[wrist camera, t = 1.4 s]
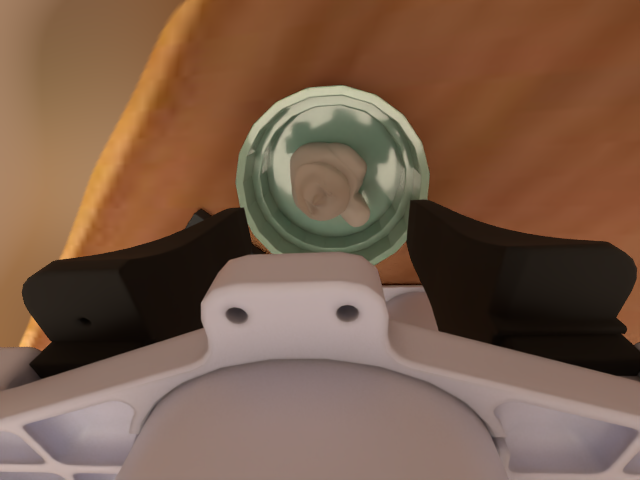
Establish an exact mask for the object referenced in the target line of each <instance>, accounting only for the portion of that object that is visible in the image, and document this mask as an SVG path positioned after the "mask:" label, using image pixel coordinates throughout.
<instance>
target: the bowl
mask: <svg viewBox="0 0 640 480" xmlns="http://www.w3.org/2000/svg"><path fill="white" fill-rule="evenodd" d="M313 142H325V143H342V144H345V145H347V146H349V147H351V148H352V149H353V150H354V151H356V153H357V154H358V155H359V156H360V157H361V158H362V159H363V160H364V161H365V162H366V165H367V170H366V174H365V177H364V179H363V184H362V186H361V187H360V189H359V191H358V192H359V193H360V194H361V195H362V196H363V197H364V199H365V202H366V204H367V206H368V207H369V209H370V217H369V219H368V221H367V222H366V223H365V224H364V225H362V226H360V227H353V226H351V225H349V224H348V223H347V222H346V221H345V220H344V219H343V217H342V216H341V215H338V216H337V217H335V218H333V219H330V220H326V221H318V220H313V219H310V218H309V217H308V216H307V215H306V214H304V213H303V212H302V211H301V210H300V209H299V208H298V207H297V206H296V204H295V202H294V199H293V195H292V185H291V179H290V160H291V156H292V155H293V153H294V152H295V151H296V150H297V149H298V148H299V147H300V146H302V145H304V144H307V143H313ZM429 178H430V172H429V168H428V164H427V160H426V156H425V152H424V147H423V144H422V142H421V140H420V138H419V137H418V135H417V134H416V132H415V131H414V129H413V128H412V126H411V125H410V123H409V122H408V120H407V119H406V117H405V116H404V115H403V114H402V113H401V112H399V111H398V110H397V109H395V108H394V107H392V106H391V105H390V104H388V103H387V102H386V101H384V100H383V99H382V98H380V97H379V96H378V95H376V94H372V93H369V92H366V91H362V90H359V89H355V88H352V87H348V86H345V85H343V86H342V85H334V86H321V87H308V88H305V89H303V90H301V91H299V92H296V93H294V94H292V95H290V96H288V97H286V98H283V99H281V100H279V101H277V102H275V103H274V104H273V105H272V106H271V107H270V108H269V109H268V110H267V111H266V112H265V113H264V114H263V115H262V116H261V117H260V118H259V119H258V120H257V121H256V122H255V123H254V124H253V126H252V128H251V130H250V132H249V134H248V136H247V138H246V140H245V142H244V144H243V146H242V148H241V150H240V153H239V158H238V166H237V174H236V188H237V193H238V198H239V203H240V208H243V207H244V209H245V213H246V218H247V223H248V225H249V227H250V229H251V231H252V232H253V234H254V236H255V237H256V238H257V239H258V240H259V241H260V242H261V243H262V244H263V245H264V246H265V247H266V248H267V249H268V250H269V251H270V252H271V253H272V254H288V253H318V252H344V253H349V254H355V255H360V256H362V257H364V258H365V259H366V260H367V261H369V262H370V263H371V264H372V265H376V264H378V263H379V262H381V261H382V260H384V259H386V258H387V257H389V256H390V255H392V254H394V253H395V252H396V251H397V250H398V249H399V248H400V247H401V246H402V245H403V244H404V243H405V241H406V240H407V229H408V218H409V208H410V200H423V199H425V200H427V198H428V188H429Z"/></svg>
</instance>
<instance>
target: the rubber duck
mask: <svg viewBox="0 0 640 480" xmlns="http://www.w3.org/2000/svg"><path fill="white" fill-rule="evenodd" d="M366 170H367V165H366V162H365V161H364V160H363V159H362V158H361V157H360V156H359V155H358V154H357V153H356V151H354V150H353V149H352V148H351V147H349V146H347V145H345V144H342V143H325V142H313V143H307V144H304V145H302V146H300V147H299V148H298V149H297V150H296V151H295V152H294V153H293V155H292V156H291V160H290V179H291V185H292V195H293V199H294V202H295V204H296V206H297V207H298V208H299V209H300V210H301V211H302V212H303V213H304V214H306V215H307V216H308V217H309V218H310V219H313V220H318V221H326V220H330V219H333V218H335V217H337V216H338V215H341V216H342V217H343V219H344V220H345V221H346V222H347V223H348V224H349V225H351V226H353V227H360V226H362V225H364V224H365V223H366V222H367V221H368V219H369V217H370V209H369V207H368V206H367V204H366V202H365V199H364V197H363V196H362V195H361V194H360V193H359V192H358V191H359V189H360V187H361V186H362V184H363V179H364V177H365V174H366Z"/></svg>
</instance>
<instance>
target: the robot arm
mask: <svg viewBox="0 0 640 480" xmlns="http://www.w3.org/2000/svg"><path fill="white" fill-rule="evenodd" d="M406 243H407V247H408V251H409V254H410V258H411V261H412V263H413V266H414V268H415V270H416V272H417V275H418V277H419V279H420V281H421V283H422V285H382V284H381V280H380V277H379V273H378V270H377V268H376V267H375V266H374V265H372V264H371V263H370V262H369V261H367V260H366V259H365V258H364V257H362V256H360V255H355V254H349V253H344V252H318V253H288V254H258V255H251V252H252V248H253V247H252V242H251V237H250V233H249V228H248V223H247V218H246V213H245V209H244V207H243V208H229V209H226V210H223V211H221V212H219V213H217V214H215V215H213V216H211V217H209V218H207V219H205V220H203V221H201V222H199V223H197V224H195V225H193V226H190V227H188V228H186V229H184V230H182V231H179V232H177V233H175V234H172V235H170V236H167V237H164V238H161V239H159V240H156V241H152V242H149V243H145V244H142V245H138V246H135V247H131V248H127V249H123V250H118V251H114V252H109V253H104V254H98V255H92V256H85V257H78V258H71V259H63V260H56V261H53V262H51V263H50V264H48V265H47V266H46V267H44V268H42V269H41V270H39V271H38V272H36V273H35V274H34V275H32V276H31V277H29V278H28V279H27V281H26V282H25V283H24V284H23V289H22V296H23V300H24V304H25V306H26V307H27V309H28V311H29V313H30V314H31V315H32V317H33V318H34V319H35V321H36V322H37V323H38V325H39V326H40V327H41V329H42V330H43V331H44V333H45V334H46V335H47V337H48V338H49V340H50V341H52V342H51V343H50V344H49V345H48V346H47V347H46V348H45V349H44V350H43V351H40V350H38V349H36V348H32V347H0V480H640V342H639V343H636V344H635V345H633V344H632V343H631V342H629V341H628V340H627V339H626V338H625V337H624V336H623V335H622V334H625V333H626V331H627V328H626V326H625V325H624V324H623V323H622V322H621V321H619V320H618V319H617V318H616V317H617V315H618V313H619V312H620V310H621V308H622V306H623V305H624V303H625V301H626V300H627V298H628V296H629V295H630V293H631V291H632V289H633V286H634V284H635V282H636V279H637V268H636V265H635V263H634V261H633V259H632V258H631V257H630V256H628V255H627V254H626V253H625V252H623V251H622V250H620V249H619V248H617V247H615V246H614V245H612V244H611V243H609V242H604V241H589V240H573V239H562V238H553V237H545V236H538V235H532V234H526V233H522V232H517V231H512V230H507V229H503V228H499V227H496V226H492V225H489V224H486V223H483V222H480V221H477V220H474V219H472V218H469V217H466V216H464V215H461V214H459V213H457V212H454V211H452V210H450V209H448V208H446V207H443V206H441V205H439V204H437V203H434V202H432V201H429V200H425V199H423V200H410V208H409V218H408V229H407V240H406Z"/></svg>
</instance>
